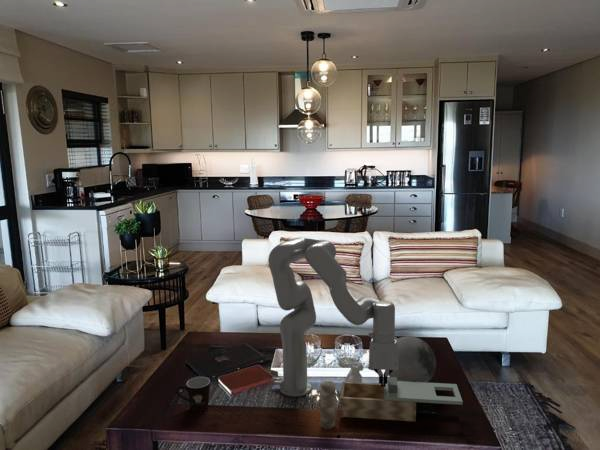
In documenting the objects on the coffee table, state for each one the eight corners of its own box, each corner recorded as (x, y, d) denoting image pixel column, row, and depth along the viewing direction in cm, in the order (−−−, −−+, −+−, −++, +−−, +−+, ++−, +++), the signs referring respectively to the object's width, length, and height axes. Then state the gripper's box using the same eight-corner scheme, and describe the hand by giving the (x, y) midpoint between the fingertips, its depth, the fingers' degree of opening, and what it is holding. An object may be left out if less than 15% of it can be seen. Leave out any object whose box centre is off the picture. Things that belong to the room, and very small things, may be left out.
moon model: (390, 399, 180) (390, 349, 177) (379, 374, 200) (380, 329, 197) (442, 397, 181) (443, 348, 178) (426, 373, 201) (427, 328, 197)
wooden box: (340, 419, 168) (340, 398, 167) (342, 401, 180) (342, 381, 178) (415, 424, 164) (416, 402, 163) (412, 405, 176) (413, 385, 175)
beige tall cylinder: (320, 428, 162) (319, 387, 160) (321, 420, 167) (321, 380, 165) (334, 429, 162) (334, 388, 159) (335, 421, 167) (335, 381, 164)
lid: (384, 400, 164) (384, 388, 164) (383, 383, 176) (383, 372, 175) (462, 404, 161) (463, 393, 160) (456, 387, 172) (456, 376, 172)
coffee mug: (215, 403, 180) (214, 378, 178) (203, 415, 172) (202, 389, 170) (188, 398, 184) (187, 374, 182) (176, 410, 176) (174, 384, 174)
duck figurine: (353, 399, 185) (371, 378, 183) (338, 387, 185) (355, 366, 183) (354, 384, 197) (371, 364, 194) (340, 372, 197) (356, 353, 195)
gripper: (362, 339, 164) (361, 389, 167) (406, 341, 162) (405, 391, 165) (362, 331, 172) (362, 379, 175) (404, 333, 169) (403, 381, 172)
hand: (383, 385), depth 170 cm, fingers closed
